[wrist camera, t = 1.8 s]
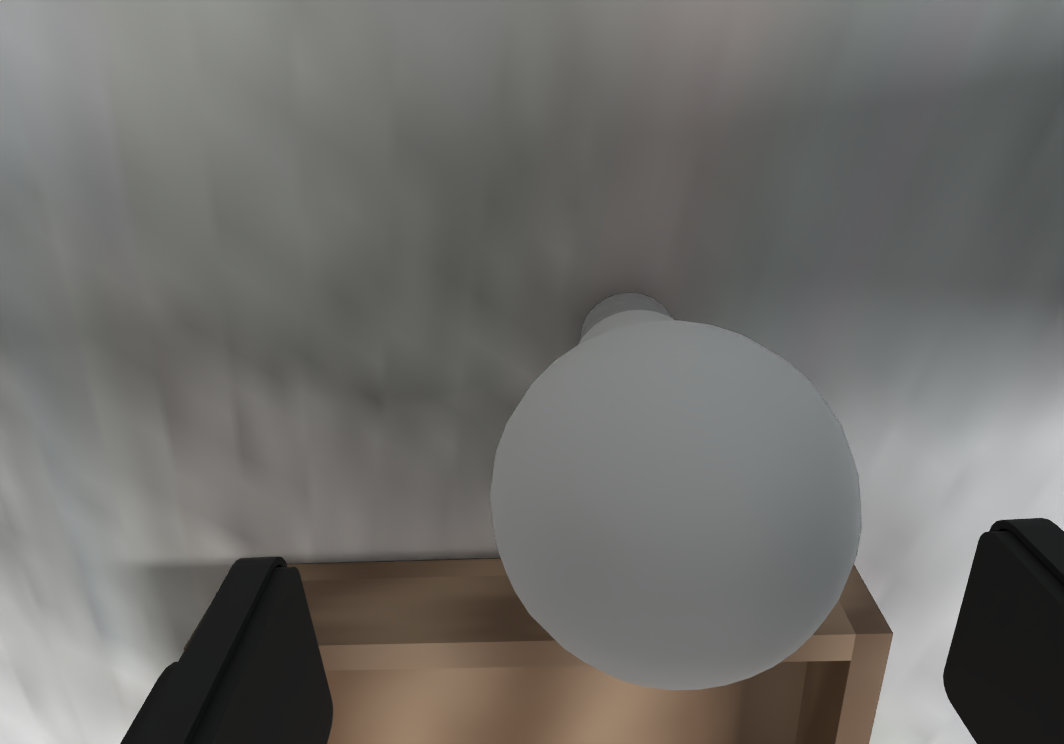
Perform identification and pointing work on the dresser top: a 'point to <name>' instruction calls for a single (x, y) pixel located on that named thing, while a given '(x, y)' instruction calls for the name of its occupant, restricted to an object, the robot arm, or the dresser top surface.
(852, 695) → the walnut tray
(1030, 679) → the robot arm
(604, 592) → the lightbulb
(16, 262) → the dresser top surface
